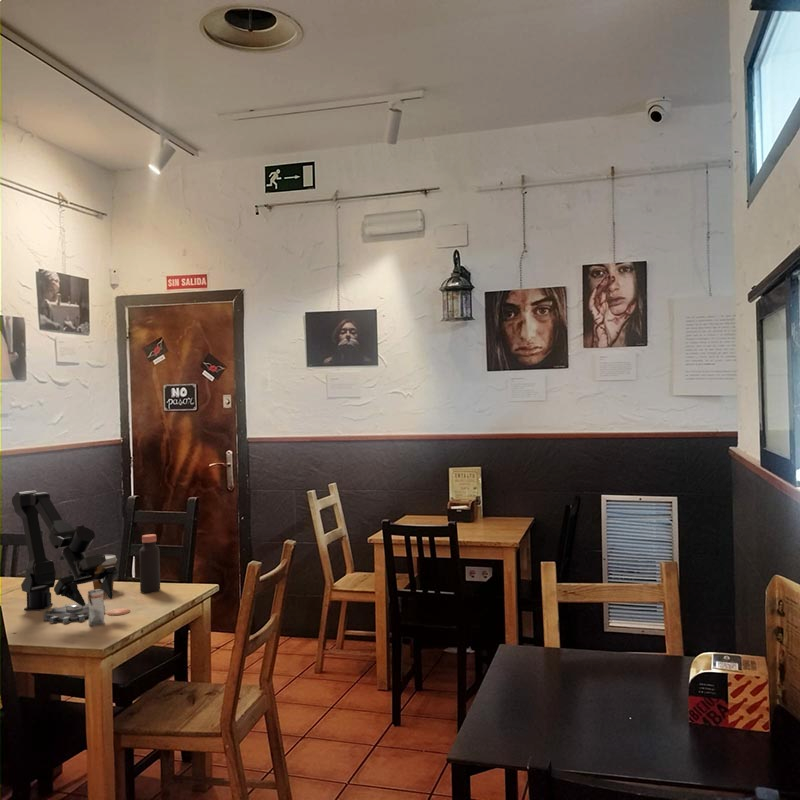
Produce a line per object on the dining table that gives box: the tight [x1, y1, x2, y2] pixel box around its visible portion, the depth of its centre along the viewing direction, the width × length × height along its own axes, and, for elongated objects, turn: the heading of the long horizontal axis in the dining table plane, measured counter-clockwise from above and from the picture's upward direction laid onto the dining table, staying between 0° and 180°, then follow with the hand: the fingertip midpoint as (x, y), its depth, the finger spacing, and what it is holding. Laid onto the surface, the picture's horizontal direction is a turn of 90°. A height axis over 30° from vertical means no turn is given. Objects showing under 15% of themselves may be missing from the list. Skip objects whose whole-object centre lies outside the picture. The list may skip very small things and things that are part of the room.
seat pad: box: [106, 607, 131, 616], centre depth 233 cm, size 7×7×1 cm
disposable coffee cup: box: [92, 554, 118, 591], centre depth 262 cm, size 10×10×12 cm
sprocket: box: [43, 601, 106, 624], centre depth 231 cm, size 18×18×3 cm
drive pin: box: [87, 589, 105, 627], centre depth 222 cm, size 4×4×10 cm
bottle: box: [139, 533, 161, 594], centre depth 259 cm, size 7×7×20 cm
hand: (98, 601), depth 221 cm, fingers open, 9 cm apart
